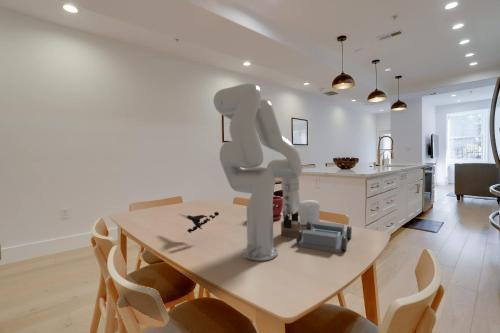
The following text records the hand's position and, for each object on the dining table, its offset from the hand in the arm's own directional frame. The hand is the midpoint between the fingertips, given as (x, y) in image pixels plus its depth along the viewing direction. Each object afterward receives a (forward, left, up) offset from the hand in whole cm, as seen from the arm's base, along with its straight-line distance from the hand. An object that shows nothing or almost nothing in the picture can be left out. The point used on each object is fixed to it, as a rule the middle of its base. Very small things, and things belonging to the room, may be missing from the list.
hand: (291, 224), depth 110 cm
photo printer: (+19, -3, -5) cm, 20 cm away
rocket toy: (-22, +39, -5) cm, 45 cm away
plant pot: (+21, +19, -5) cm, 29 cm away
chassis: (-1, -15, -5) cm, 16 cm away
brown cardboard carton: (-1, 0, -5) cm, 5 cm away
